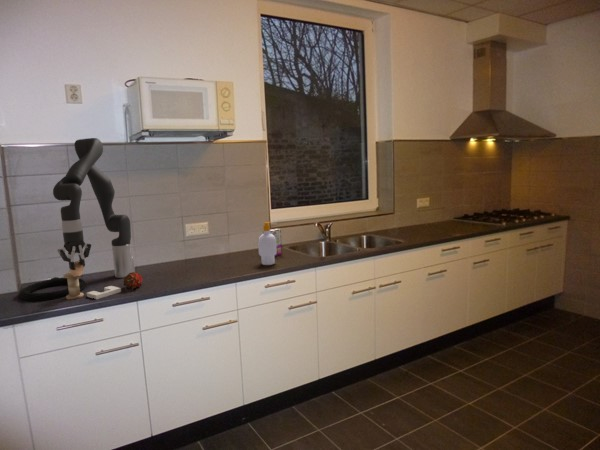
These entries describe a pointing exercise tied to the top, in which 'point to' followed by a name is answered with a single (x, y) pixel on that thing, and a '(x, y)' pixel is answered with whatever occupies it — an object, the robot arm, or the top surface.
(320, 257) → the top surface
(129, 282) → the dragon fruit
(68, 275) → the bobbin
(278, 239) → the candy bar box
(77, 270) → the brown wooden block
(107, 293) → the notch board
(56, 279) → the cable lock
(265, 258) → the soap bottle
